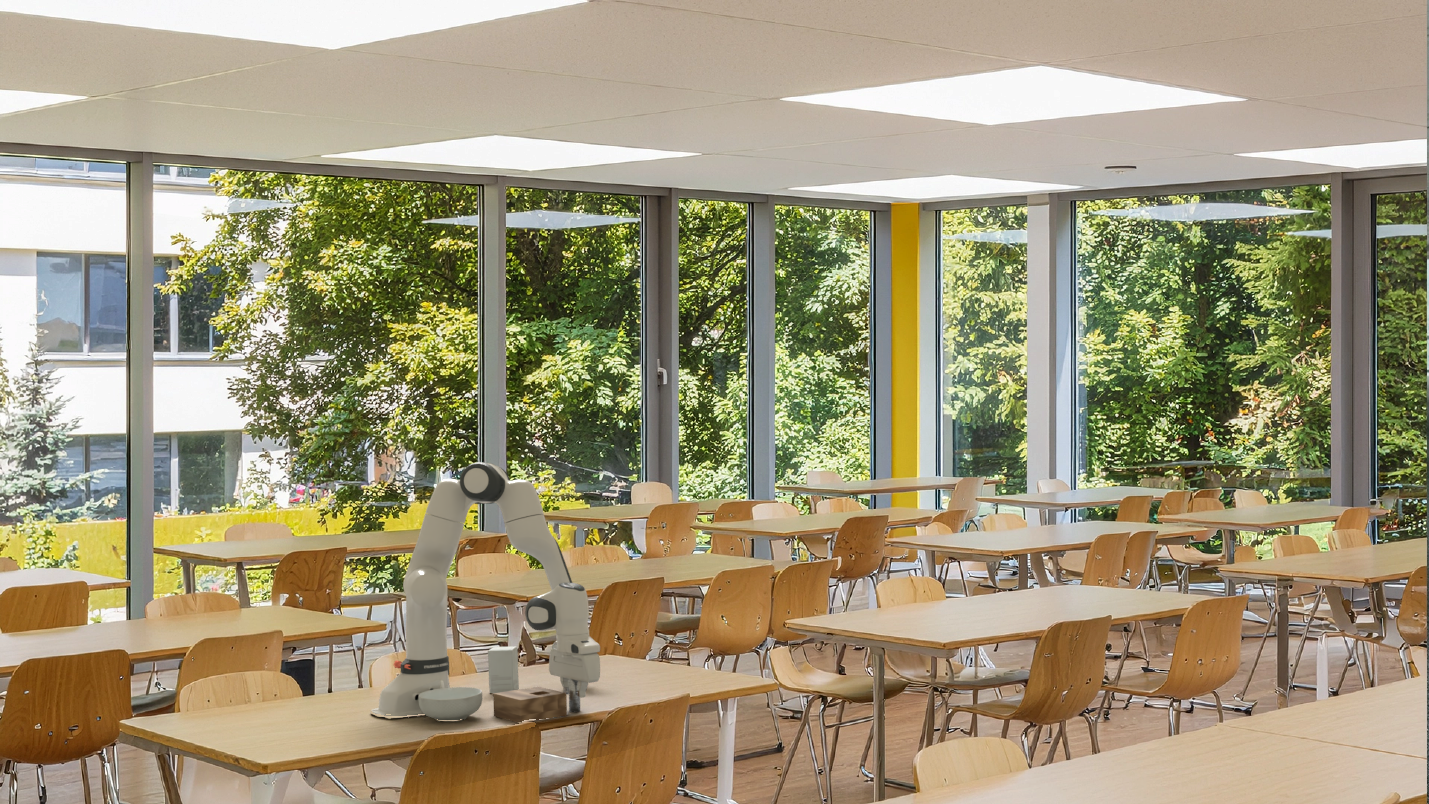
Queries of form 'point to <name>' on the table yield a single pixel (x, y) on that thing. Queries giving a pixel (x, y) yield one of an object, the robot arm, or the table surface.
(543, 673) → the table surface
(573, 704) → the pin
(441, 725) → the table surface
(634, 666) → the table surface
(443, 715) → the cereal bowl
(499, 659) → the supplement box
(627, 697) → the table surface
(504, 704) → the socket block
